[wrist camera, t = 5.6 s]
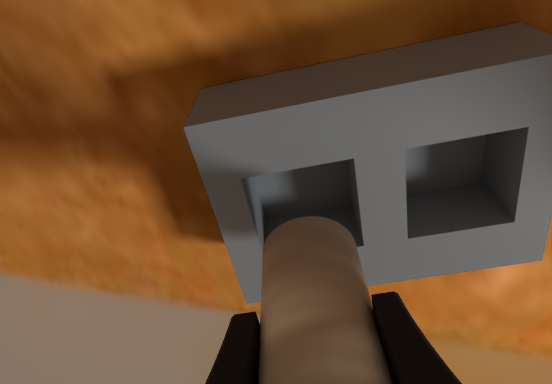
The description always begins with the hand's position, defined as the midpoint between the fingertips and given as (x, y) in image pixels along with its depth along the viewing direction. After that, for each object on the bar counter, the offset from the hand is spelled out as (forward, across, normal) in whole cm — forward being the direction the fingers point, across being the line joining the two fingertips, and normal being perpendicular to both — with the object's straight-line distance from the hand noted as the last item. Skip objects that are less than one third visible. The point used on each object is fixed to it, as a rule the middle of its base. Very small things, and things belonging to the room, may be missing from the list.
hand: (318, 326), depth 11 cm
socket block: (+9, -3, 0) cm, 10 cm away
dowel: (+3, 0, 0) cm, 3 cm away
